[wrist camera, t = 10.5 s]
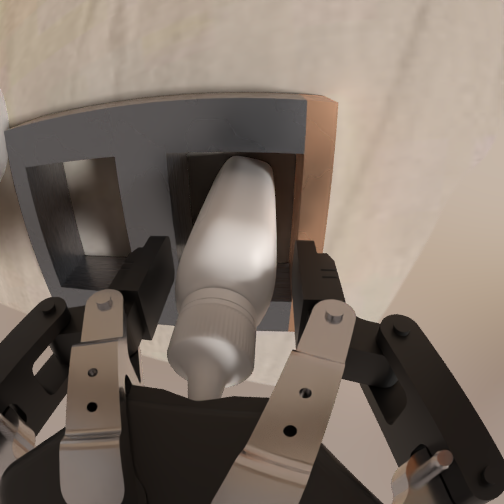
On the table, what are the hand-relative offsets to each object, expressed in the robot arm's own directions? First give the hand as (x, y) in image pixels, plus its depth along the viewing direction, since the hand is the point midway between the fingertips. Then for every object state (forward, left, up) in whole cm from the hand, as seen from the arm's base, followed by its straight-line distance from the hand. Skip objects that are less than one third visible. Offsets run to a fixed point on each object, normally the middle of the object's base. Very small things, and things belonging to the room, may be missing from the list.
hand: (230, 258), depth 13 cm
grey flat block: (0, -4, -5) cm, 7 cm away
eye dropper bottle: (0, 0, -6) cm, 6 cm away
